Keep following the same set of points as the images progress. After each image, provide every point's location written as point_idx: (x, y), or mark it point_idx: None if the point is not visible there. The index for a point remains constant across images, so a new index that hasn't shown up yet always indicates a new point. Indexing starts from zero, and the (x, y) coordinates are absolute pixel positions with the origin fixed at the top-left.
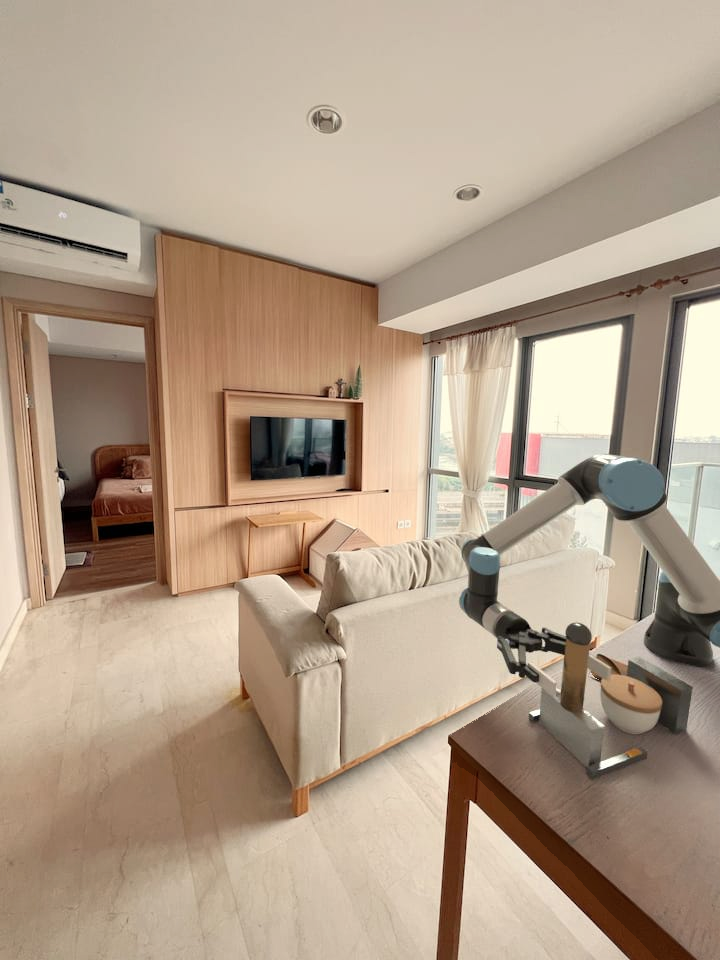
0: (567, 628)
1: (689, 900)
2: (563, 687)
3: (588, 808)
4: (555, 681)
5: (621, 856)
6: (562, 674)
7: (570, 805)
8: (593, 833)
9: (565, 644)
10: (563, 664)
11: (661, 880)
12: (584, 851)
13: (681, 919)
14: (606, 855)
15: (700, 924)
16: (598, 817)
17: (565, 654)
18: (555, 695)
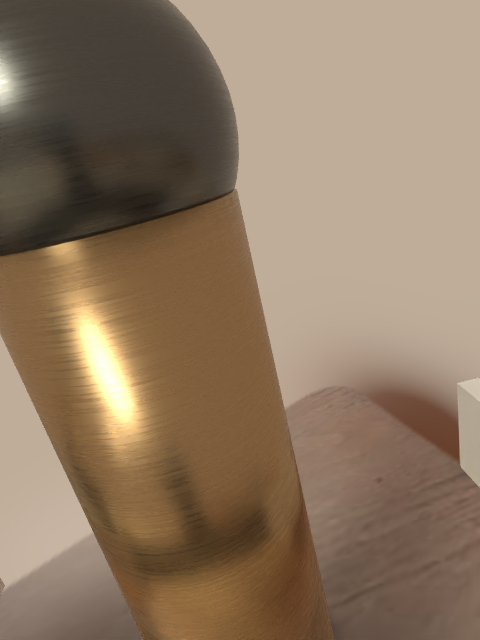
0: (177, 22)
1: (303, 415)
2: (331, 635)
3: (390, 536)
4: (465, 387)
5: (371, 454)
6: (304, 629)
7: (441, 544)
8: (408, 486)
9: (233, 314)
10: (286, 543)
11: (324, 430)
12: (446, 458)
13: (334, 401)
14: (401, 454)
15: (312, 399)
16: (375, 515)
17: (273, 398)
18: (460, 466)
